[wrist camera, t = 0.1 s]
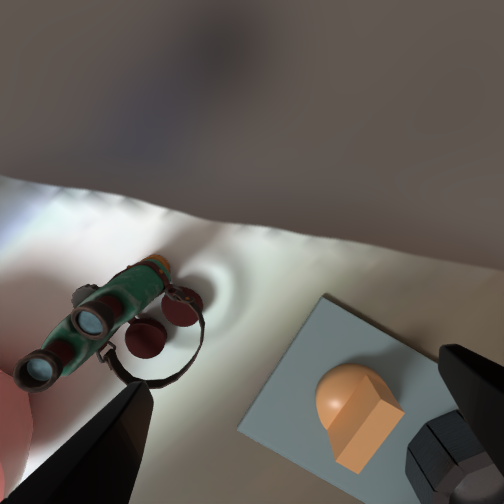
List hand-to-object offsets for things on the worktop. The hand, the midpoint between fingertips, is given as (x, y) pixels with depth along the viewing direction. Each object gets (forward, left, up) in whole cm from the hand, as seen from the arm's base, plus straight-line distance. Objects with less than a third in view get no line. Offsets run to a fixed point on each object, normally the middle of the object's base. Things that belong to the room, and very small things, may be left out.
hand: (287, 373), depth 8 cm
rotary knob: (-6, -12, -15) cm, 20 cm away
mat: (-7, -17, -15) cm, 24 cm away
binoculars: (-8, +7, -16) cm, 19 cm away
